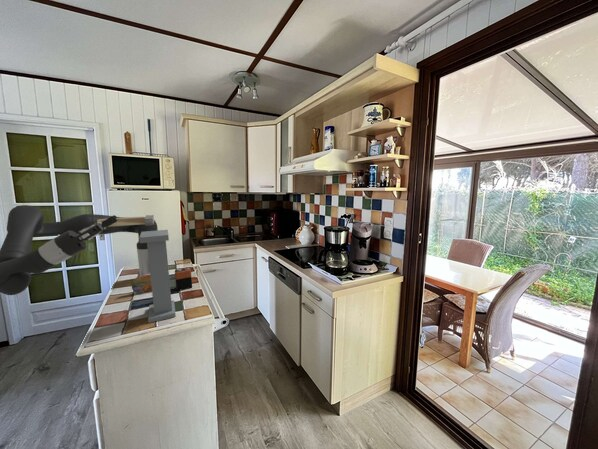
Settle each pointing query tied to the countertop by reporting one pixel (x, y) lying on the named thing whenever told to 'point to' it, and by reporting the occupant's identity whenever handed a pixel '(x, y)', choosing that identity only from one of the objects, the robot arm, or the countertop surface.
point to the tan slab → (132, 221)
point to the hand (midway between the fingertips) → (115, 218)
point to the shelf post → (158, 275)
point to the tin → (142, 284)
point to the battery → (183, 278)
